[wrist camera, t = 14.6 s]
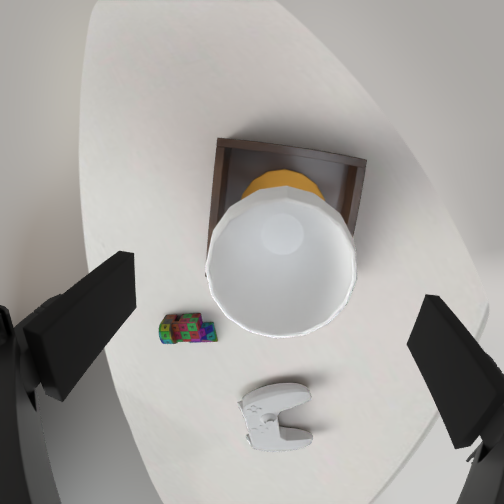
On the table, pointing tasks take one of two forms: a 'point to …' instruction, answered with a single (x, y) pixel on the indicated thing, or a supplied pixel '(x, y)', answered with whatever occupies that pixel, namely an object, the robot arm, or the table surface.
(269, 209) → the cup
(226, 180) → the holder
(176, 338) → the block
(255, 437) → the game controller
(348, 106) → the table surface
